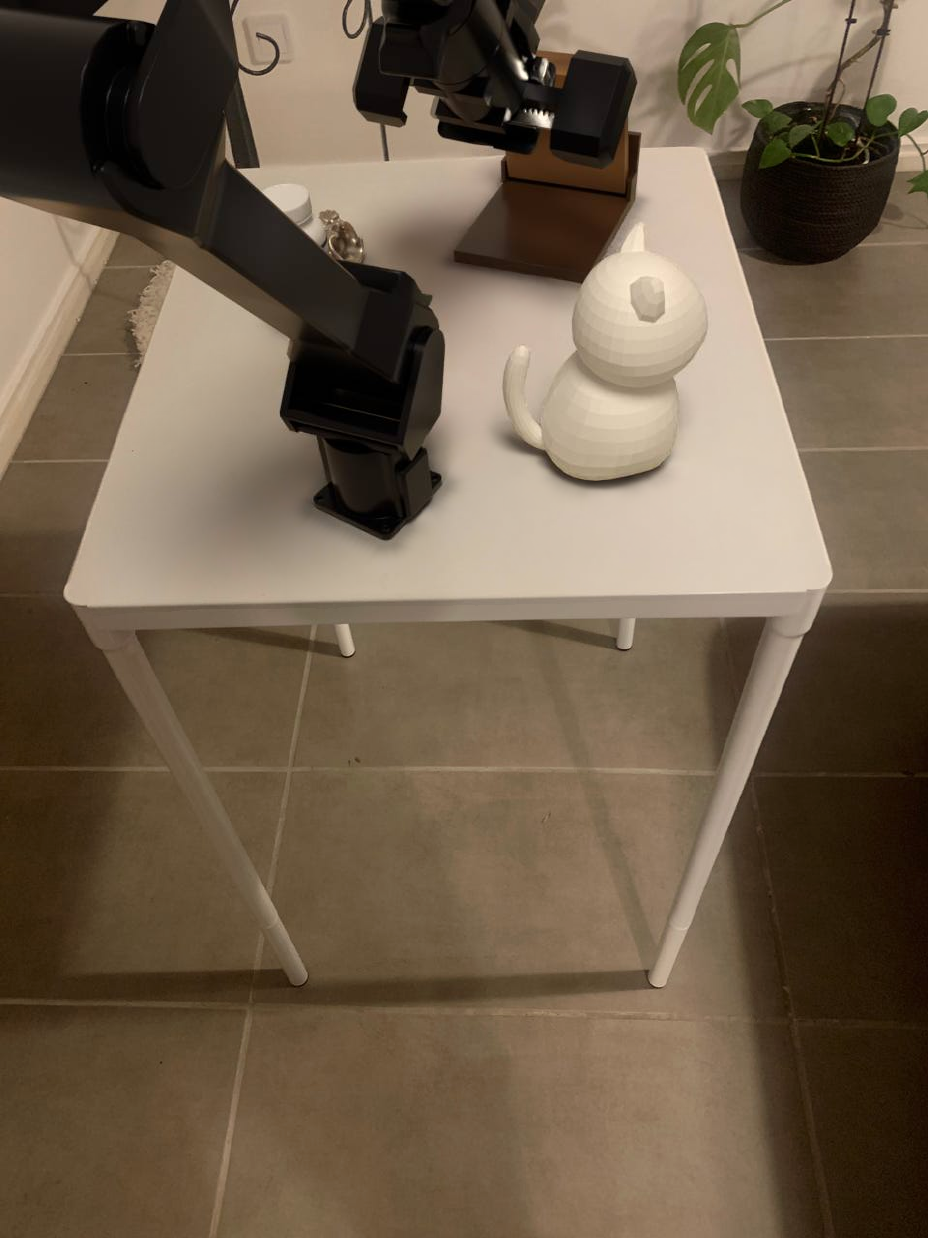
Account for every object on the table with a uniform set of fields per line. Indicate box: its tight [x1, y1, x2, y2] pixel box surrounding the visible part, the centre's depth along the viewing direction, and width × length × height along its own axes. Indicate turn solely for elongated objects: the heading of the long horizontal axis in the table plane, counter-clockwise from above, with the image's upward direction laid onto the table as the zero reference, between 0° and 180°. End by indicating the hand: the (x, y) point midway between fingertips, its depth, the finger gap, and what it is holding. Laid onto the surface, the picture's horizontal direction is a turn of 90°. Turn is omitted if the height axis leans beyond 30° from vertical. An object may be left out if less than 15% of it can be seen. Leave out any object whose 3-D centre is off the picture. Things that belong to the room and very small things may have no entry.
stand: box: [453, 130, 642, 285], centre depth 80 cm, size 14×12×6 cm
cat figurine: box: [501, 221, 709, 481], centre depth 59 cm, size 9×12×15 cm
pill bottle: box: [261, 183, 330, 254], centre depth 73 cm, size 5×5×10 cm
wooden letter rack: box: [504, 49, 629, 194], centre depth 79 cm, size 11×11×3 cm
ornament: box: [318, 209, 365, 264], centre depth 80 cm, size 8×7×4 cm
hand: (520, 142), depth 70 cm, fingers closed
